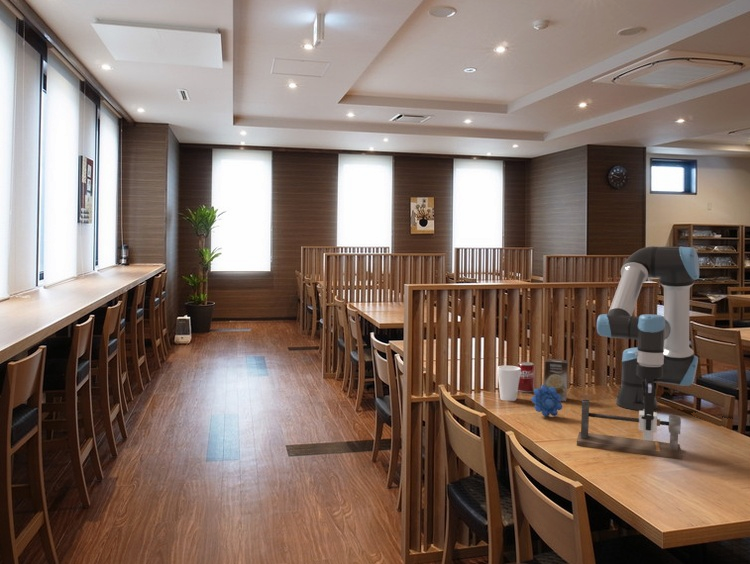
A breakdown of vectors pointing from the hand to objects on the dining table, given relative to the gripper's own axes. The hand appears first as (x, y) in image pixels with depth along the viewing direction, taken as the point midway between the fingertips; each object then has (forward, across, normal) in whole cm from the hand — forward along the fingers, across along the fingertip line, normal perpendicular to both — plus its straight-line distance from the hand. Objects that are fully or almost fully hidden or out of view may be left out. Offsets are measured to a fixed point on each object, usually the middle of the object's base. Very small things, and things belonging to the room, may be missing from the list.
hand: (647, 434), depth 188 cm
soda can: (+5, -61, -47) cm, 77 cm away
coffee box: (+5, -52, -34) cm, 62 cm away
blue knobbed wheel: (+5, -23, -33) cm, 41 cm away
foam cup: (+5, -44, -51) cm, 67 cm away
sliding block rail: (+5, 0, -6) cm, 7 cm away
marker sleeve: (-2, 0, 0) cm, 2 cm away
